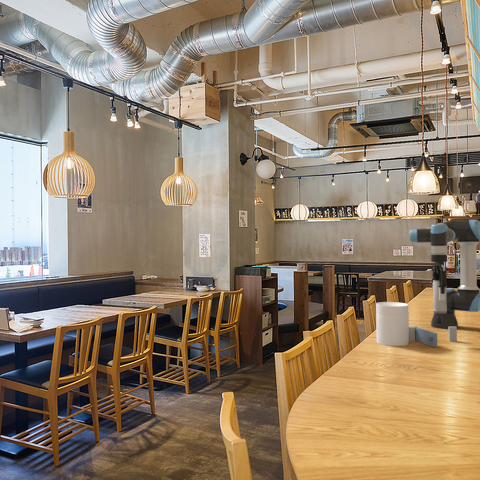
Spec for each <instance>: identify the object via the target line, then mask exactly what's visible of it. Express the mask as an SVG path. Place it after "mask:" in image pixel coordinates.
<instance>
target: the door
mask: <svg viewBox="0 0 480 480" xmlns="http://www.w3.org/2000/svg"><path fill="white" fill-rule="evenodd" d="M413 327H414V342H418V343H421V344H424V345H426V346H430V347H433V348H438V333H437V332H435V331H431V330H427V329H425V328H421V327H418V326H417V325H415V326H413Z"/></svg>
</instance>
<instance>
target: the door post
mask: <svg viewBox="0 0 480 480" xmlns="http://www.w3.org/2000/svg"><path fill="white" fill-rule="evenodd" d="M414 327H415V326H413V325H409V343H410V342H414V343H415V338H414Z"/></svg>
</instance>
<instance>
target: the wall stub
mask: <svg viewBox="0 0 480 480" xmlns="http://www.w3.org/2000/svg"><path fill="white" fill-rule="evenodd" d="M447 332H448V342H455V343H456V342H458V328H457V327H448V331H447Z"/></svg>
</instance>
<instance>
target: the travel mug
mask: <svg viewBox="0 0 480 480" xmlns="http://www.w3.org/2000/svg"><path fill="white" fill-rule="evenodd" d="M432 282H433V283H432V288H433V289H432V297H433V298H432V299H433V301H432V307H433V308H432V309H433V314H434V313H438V314H446V313H447V290H446V288H447V286H446V287H445V300H439V287H438V286H440V284H439V275H436V274H433V273H432Z"/></svg>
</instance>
